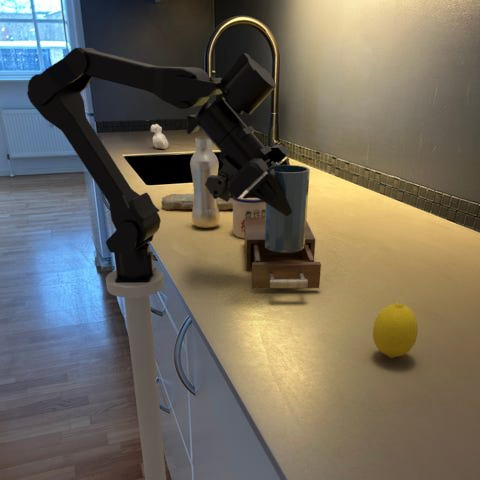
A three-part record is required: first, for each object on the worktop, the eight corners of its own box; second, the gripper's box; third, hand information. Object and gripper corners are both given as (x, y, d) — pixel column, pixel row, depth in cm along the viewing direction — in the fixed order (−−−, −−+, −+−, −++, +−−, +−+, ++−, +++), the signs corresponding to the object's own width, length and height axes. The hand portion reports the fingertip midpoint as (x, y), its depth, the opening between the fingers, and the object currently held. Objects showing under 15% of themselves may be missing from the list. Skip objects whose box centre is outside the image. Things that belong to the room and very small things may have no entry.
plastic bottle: (208, 221, 125) (206, 135, 116) (225, 227, 121) (224, 138, 111) (186, 226, 122) (182, 137, 112) (203, 232, 117) (200, 141, 108)
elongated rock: (164, 207, 141) (161, 219, 133) (161, 188, 139) (158, 199, 130) (289, 198, 142) (295, 210, 134) (289, 179, 140) (295, 190, 131)
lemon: (361, 357, 68) (368, 303, 64) (383, 343, 72) (391, 290, 68) (398, 373, 65) (408, 317, 61) (420, 357, 68) (430, 303, 64)
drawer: (323, 298, 83) (325, 274, 81) (253, 299, 82) (253, 274, 80) (308, 260, 98) (309, 238, 97) (249, 260, 98) (249, 239, 96)
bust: (160, 151, 233) (143, 131, 228) (173, 140, 231) (156, 119, 226) (160, 155, 222) (142, 134, 217) (173, 144, 221) (156, 122, 216)
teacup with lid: (240, 241, 111) (239, 187, 106) (226, 230, 119) (225, 179, 113) (290, 235, 115) (292, 183, 109) (274, 224, 122) (275, 175, 117)
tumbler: (276, 255, 84) (280, 174, 78) (257, 243, 89) (259, 166, 83) (311, 249, 86) (317, 170, 80) (291, 238, 92) (295, 163, 86)
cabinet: (313, 270, 96) (315, 239, 93) (246, 270, 96) (246, 239, 93) (303, 245, 109) (304, 217, 106) (244, 245, 109) (244, 217, 106)
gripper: (216, 160, 94) (273, 223, 96) (176, 180, 78) (244, 256, 81) (259, 115, 89) (317, 184, 91) (224, 128, 73) (296, 211, 75)
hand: (294, 208), depth 84 cm, fingers closed on tumbler, 7 cm apart
